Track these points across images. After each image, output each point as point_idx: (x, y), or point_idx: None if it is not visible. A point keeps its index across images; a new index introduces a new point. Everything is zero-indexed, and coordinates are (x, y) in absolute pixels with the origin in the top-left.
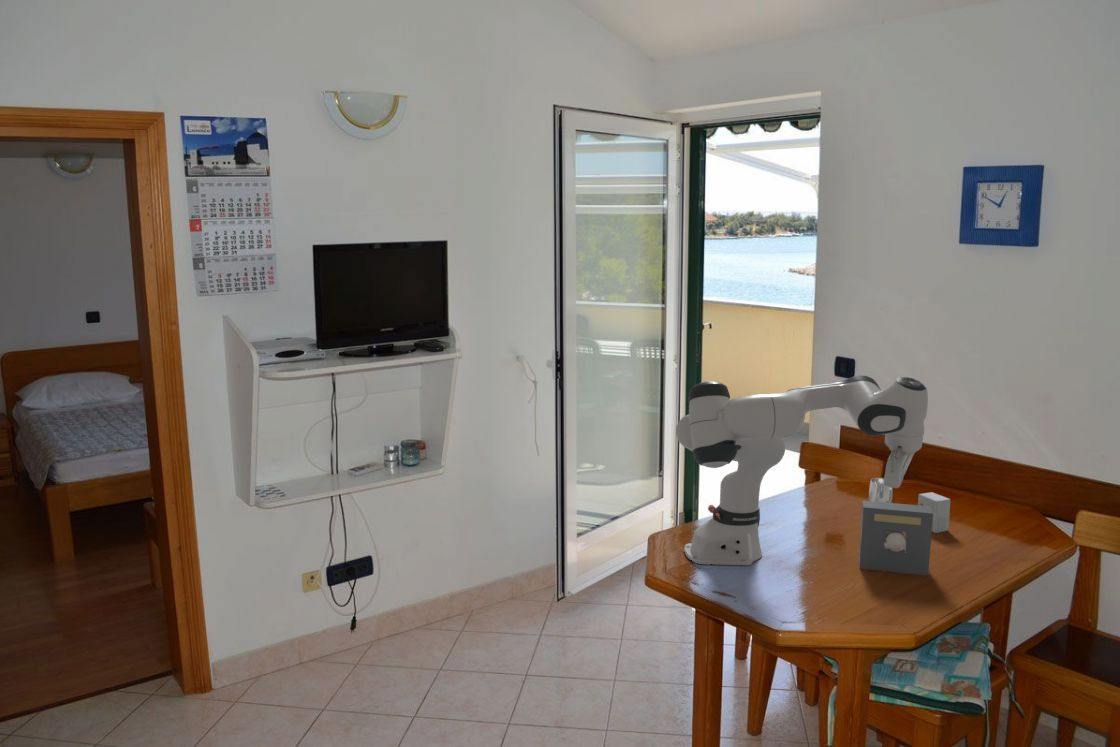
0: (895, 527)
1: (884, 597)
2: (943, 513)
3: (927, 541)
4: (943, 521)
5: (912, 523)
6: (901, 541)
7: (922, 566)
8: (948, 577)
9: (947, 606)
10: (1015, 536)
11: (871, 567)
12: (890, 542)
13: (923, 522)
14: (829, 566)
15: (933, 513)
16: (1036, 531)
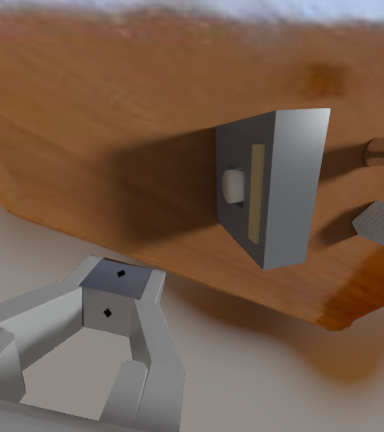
0: (247, 189)
1: (116, 167)
2: (380, 239)
3: (236, 236)
4: (368, 235)
5: (249, 224)
6: (229, 196)
7: (220, 216)
8: (219, 241)
9: (125, 245)
10: (345, 292)
11: (216, 145)
12: (227, 177)
13: (252, 244)
14: (208, 72)
15: (380, 227)
16: (357, 306)
